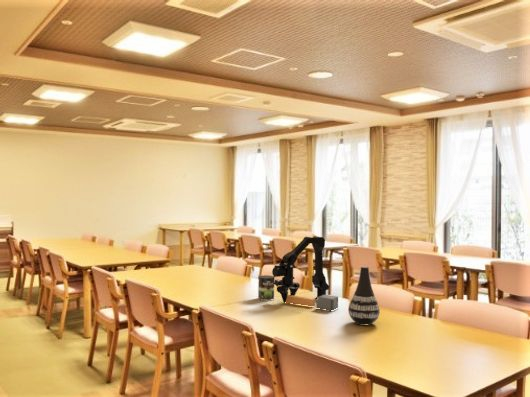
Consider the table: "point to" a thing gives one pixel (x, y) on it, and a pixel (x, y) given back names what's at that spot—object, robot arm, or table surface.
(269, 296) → the coffee can
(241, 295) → the table surface
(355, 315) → the vase
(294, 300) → the orange rectangular bar
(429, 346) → the table surface
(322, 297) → the dispenser
